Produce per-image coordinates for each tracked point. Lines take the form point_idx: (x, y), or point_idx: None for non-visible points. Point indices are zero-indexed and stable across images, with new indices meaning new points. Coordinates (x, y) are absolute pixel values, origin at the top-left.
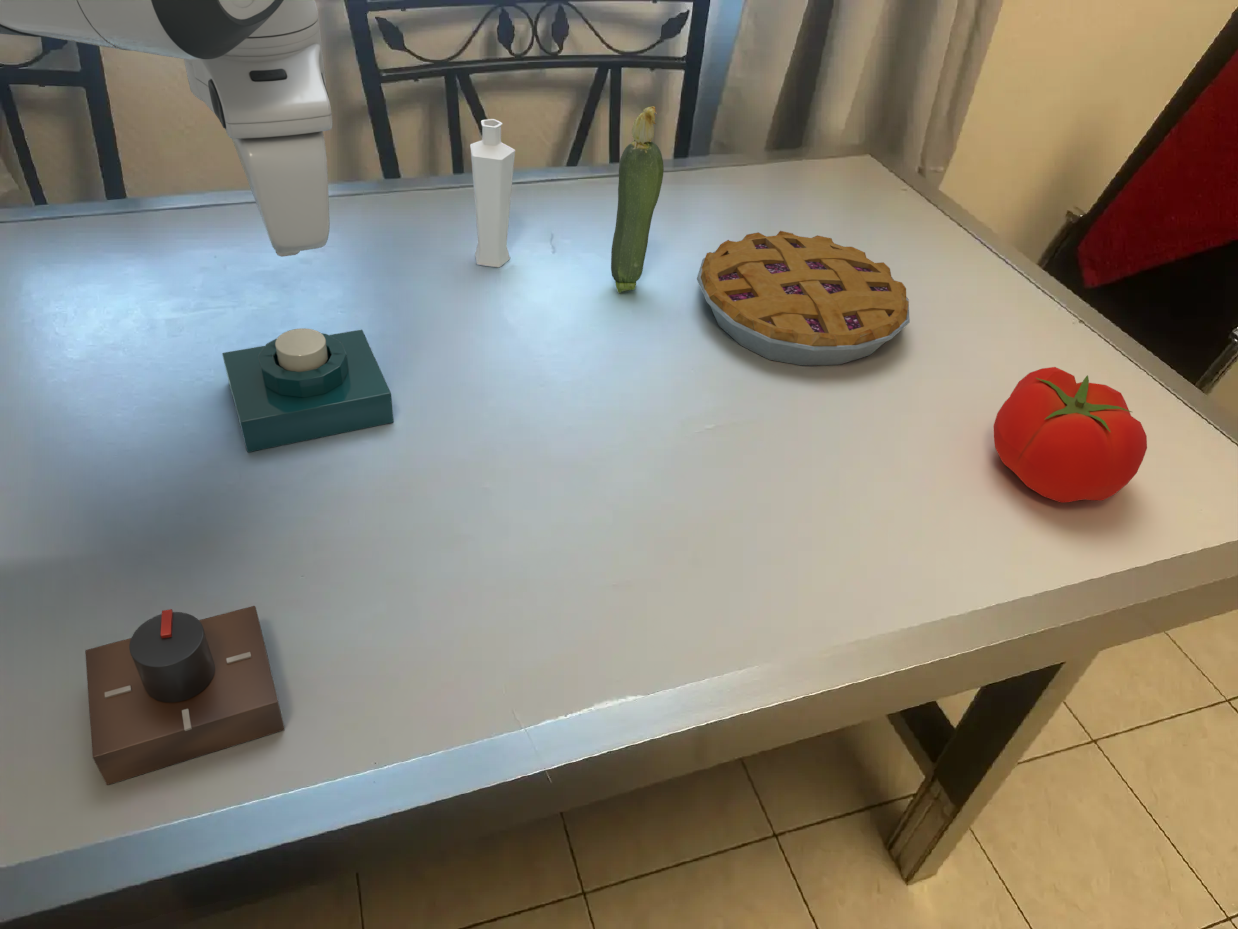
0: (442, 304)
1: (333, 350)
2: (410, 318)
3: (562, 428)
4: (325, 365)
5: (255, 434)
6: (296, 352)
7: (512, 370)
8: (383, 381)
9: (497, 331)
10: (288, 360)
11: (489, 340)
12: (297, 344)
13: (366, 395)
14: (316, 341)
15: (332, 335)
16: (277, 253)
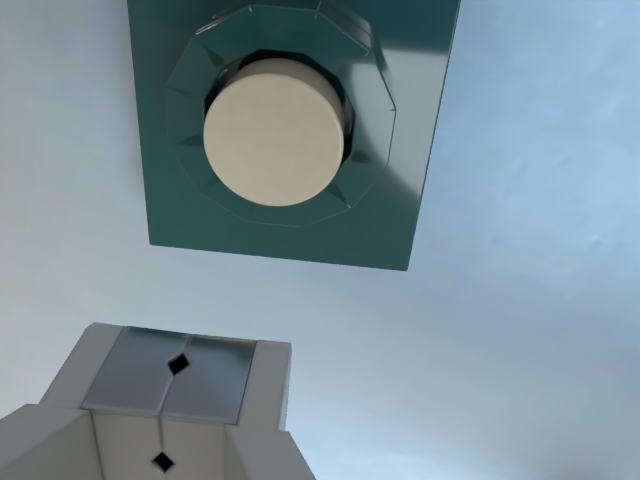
0: (504, 398)
1: None
2: (492, 341)
3: None
4: None
5: None
6: (220, 119)
7: None
8: (194, 245)
9: (375, 432)
10: (223, 87)
11: (355, 414)
12: (258, 133)
13: (154, 200)
14: (258, 182)
15: (412, 210)
16: (87, 328)
